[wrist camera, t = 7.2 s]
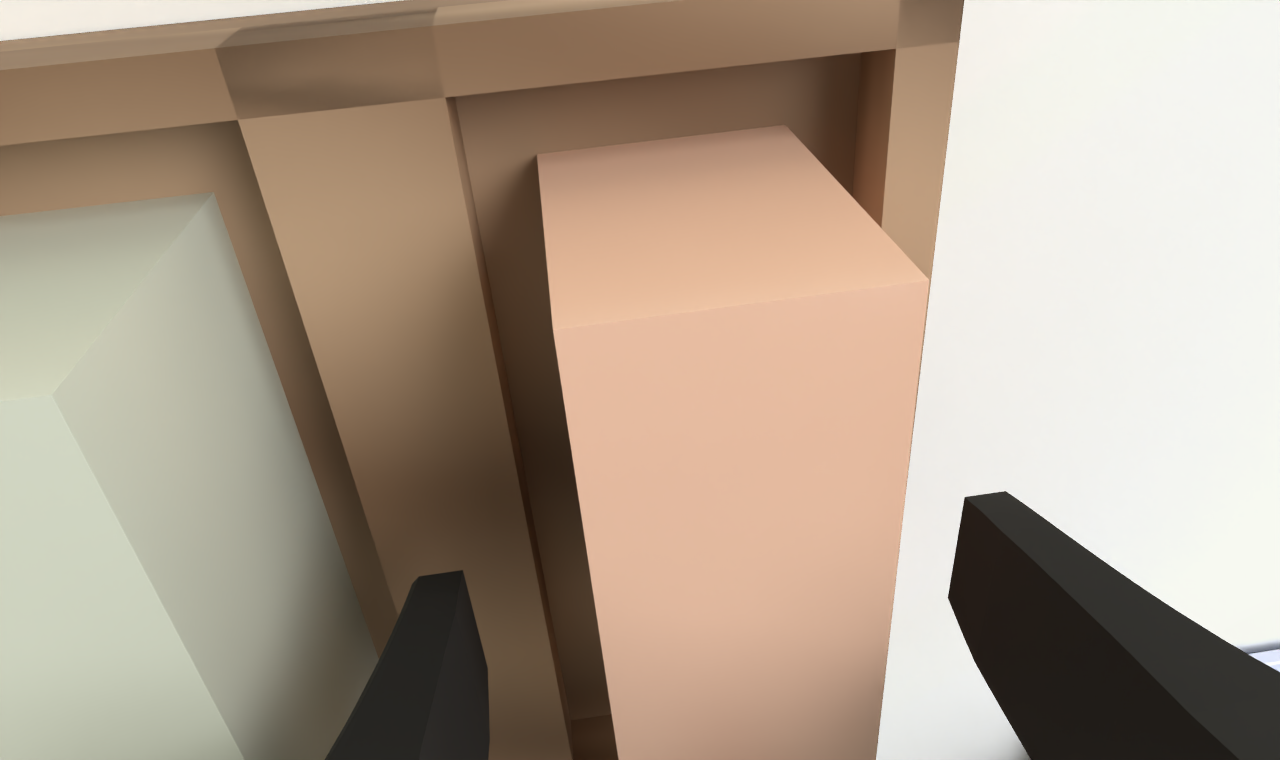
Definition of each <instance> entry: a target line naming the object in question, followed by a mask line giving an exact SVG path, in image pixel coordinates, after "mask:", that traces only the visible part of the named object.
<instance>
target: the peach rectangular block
mask: <svg viewBox="0 0 1280 760" xmlns="http://www.w3.org/2000/svg"><path fill="white" fill-rule="evenodd" d="M537 162H538V173H539V183H540V194H541V205H542V216H543V227H544V238H545V249H546V260H547V270H548V281H549V292H550V303H551V314H552V325H553V333H554V340H555V346H556V353H557V360H558V366H559V373H560V379H561V386H562V392H563V399H564V405H565V412H566V418H567V425H568V431H569V438H570V445H571V451H572V458H573V464H574V471H575V477H576V484H577V490H578V497H579V503H580V510H581V517H582V523H583V530H584V536H585V543H586V549H587V556H588V562H589V569H590V575H591V582H592V589H593V595H594V602H595V608H596V615H597V621H598V628H599V634H600V641H601V647H602V654H603V660H604V667H605V674H606V680H607V687H608V693H609V700H610V706H611V713H612V719H613V726H614V732H615V739H616V745H617V752H618V759H619V760H876V753H877V744H878V735H879V726H880V717H881V708H882V699H883V690H884V682H885V673H886V664H887V655H888V646H889V637H890V628H891V619H892V610H893V601H894V592H895V583H896V574H897V565H898V557H899V548H900V539H901V530H902V521H903V512H904V503H905V494H906V485H907V476H908V467H909V458H910V449H911V441H912V432H913V423H914V414H915V405H916V396H917V387H918V378H919V369H920V360H921V351H922V342H923V333H924V324H925V316H926V307H927V298H928V289H929V279H928V278H927V277H926V276H925V275H924V274H923V273H922V272H921V271H920V269H919V268H918V267H917V266H916V265H915V264H914V263H913V262H912V261H911V260H910V259H909V258H908V257H907V255H906V254H905V253H904V252H903V251H902V250H901V249H900V248H899V247H898V246H897V245H896V244H895V243H894V241H893V240H892V239H891V238H890V237H889V236H888V235H887V234H886V233H885V232H884V231H883V230H882V229H881V227H880V226H879V225H878V224H877V223H876V222H875V221H874V220H873V219H872V218H871V217H870V216H869V214H868V213H867V212H866V211H865V210H864V209H863V208H862V207H861V206H860V205H859V204H858V203H857V202H856V200H855V199H854V198H853V197H852V196H851V195H850V194H849V193H848V192H847V191H846V190H845V189H844V188H843V186H842V185H841V184H840V183H839V182H838V181H837V180H836V179H835V178H834V177H833V176H832V175H831V174H830V172H829V171H828V170H827V169H826V168H825V167H824V166H823V165H822V164H821V163H820V162H819V161H818V160H817V158H816V157H815V156H814V155H813V154H812V153H811V152H810V151H809V150H808V149H807V148H806V147H805V145H804V144H803V143H802V142H801V141H800V140H799V139H798V138H797V137H796V136H795V135H794V134H793V133H792V131H791V130H790V129H789V128H788V127H787V126H786V125H780V126H772V127H763V128H755V129H746V130H738V131H729V132H721V133H713V134H704V135H696V136H687V137H679V138H671V139H662V140H654V141H645V142H637V143H629V144H620V145H612V146H603V147H595V148H586V149H578V150H570V151H561V152H553V153H544V154H537Z"/></svg>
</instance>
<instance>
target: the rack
mask: <svg viewBox="0 0 1280 760" xmlns="http://www.w3.org/2000/svg"><path fill="white" fill-rule="evenodd" d="M963 6H964V0H406V1H396V2H386V3H376V4H366V5H356V6H346V7H336V8H326V9H316V10H306V11H296V12H286V13H276V14H266V15H256V16H246V17H236V18H226V19H217V20H207V21H197V22H187V23H177V24H167V25H157V26H147V27H137V28H127V29H117V30H107V31H97V32H87V33H77V34H67V35H57V36H47V37H38V38H28V39H18V40H8V41H0V216H7V215H16V214H24V213H33V212H42V211H51V210H60V209H68V208H77V207H86V206H95V205H104V204H112V203H121V202H130V201H139V200H148V199H156V198H165V197H174V196H183V195H192V194H200V193H209V192H214V195H215V197H216V200H217V203H218V206H219V209H220V212H221V214H222V217H223V220H224V223H225V226H226V229H227V231H228V234H229V237H230V240H231V243H232V245H233V248H234V251H235V254H236V257H237V260H238V262H239V265H240V268H241V271H242V274H243V277H244V279H245V282H246V285H247V288H248V291H249V294H250V296H251V299H252V302H253V305H254V308H255V310H256V313H257V316H258V319H259V322H260V325H261V327H262V330H263V333H264V336H265V339H266V342H267V344H268V347H269V350H270V353H271V356H272V359H273V361H274V364H275V367H276V370H277V373H278V376H279V378H280V381H281V384H282V387H283V390H284V392H285V395H286V398H287V401H288V404H289V407H290V409H291V412H292V415H293V418H294V421H295V424H296V426H297V429H298V432H299V435H300V438H301V441H302V443H303V446H304V449H305V452H306V455H307V457H308V460H309V463H310V466H311V469H312V472H313V474H314V477H315V480H316V483H317V486H318V489H319V491H320V494H321V497H322V500H323V503H324V506H325V508H326V511H327V514H328V517H329V520H330V522H331V525H332V528H333V531H334V534H335V537H336V539H337V542H338V545H339V548H340V551H341V554H342V556H343V559H344V562H345V565H346V568H347V571H348V573H349V576H350V579H351V582H352V585H353V587H354V590H355V593H356V596H357V599H358V602H359V604H360V607H361V610H362V613H363V616H364V619H365V621H366V624H367V627H368V630H369V633H370V636H371V638H372V641H373V644H374V647H375V650H376V652H377V655H378V658H379V659H380V656H381V654H382V652H383V650H384V648H385V646H386V644H387V642H388V640H389V637H390V635H391V633H392V631H393V629H394V626H395V624H396V622H397V620H398V617H399V615H400V613H401V610H402V608H403V606H404V603H405V601H406V598H407V596H408V593H409V591H410V588H411V586H412V583H413V582H414V581H415V580H416V579H417V578H418V577H419V576H425V575H432V574H439V573H446V572H453V571H460V570H463V572H464V576H465V580H466V584H467V588H468V592H469V596H470V600H471V604H472V608H473V612H474V616H475V620H476V624H477V628H478V631H479V635H480V639H481V643H482V647H483V651H484V655H485V659H486V663H487V667H488V689H489V726H490V743H489V757H488V760H619V759H618V752H617V745H616V739H615V732H614V726H613V719H612V713H611V706H610V700H609V693H608V687H607V680H606V674H605V667H604V660H603V654H602V647H601V641H600V634H599V628H598V621H597V615H596V608H595V602H594V595H593V589H592V582H591V575H590V569H589V562H588V556H587V549H586V543H585V536H584V530H583V523H582V517H581V510H580V503H579V497H578V490H577V484H576V477H575V471H574V464H573V458H572V451H571V445H570V438H569V431H568V425H567V418H566V412H565V405H564V399H563V392H562V386H561V379H560V373H559V366H558V360H557V353H556V346H555V340H554V333H553V325H552V314H551V303H550V292H549V281H548V270H547V260H546V249H545V238H544V227H543V216H542V205H541V194H540V183H539V173H538V162H537V154H544V153H553V152H561V151H570V150H578V149H586V148H595V147H603V146H612V145H620V144H629V143H637V142H645V141H654V140H662V139H671V138H679V137H687V136H696V135H704V134H713V133H721V132H729V131H738V130H746V129H755V128H763V127H772V126H780V125H786V126H787V127H788V128H789V129H790V130H791V131H792V133H793V134H794V135H795V136H796V137H797V138H798V139H799V140H800V141H801V142H802V143H803V144H804V145H805V147H806V148H807V149H808V150H809V151H810V152H811V153H812V154H813V155H814V156H815V157H816V158H817V160H818V161H819V162H820V163H821V164H822V165H823V166H824V167H825V168H826V169H827V170H828V171H829V172H830V174H831V175H832V176H833V177H834V178H835V179H836V180H837V181H838V182H839V183H840V184H841V185H842V186H843V188H844V189H845V190H846V191H847V192H848V193H849V194H850V195H851V196H852V197H853V198H854V199H855V200H856V202H857V203H858V204H859V205H860V206H861V207H862V208H863V209H864V210H865V211H866V212H867V213H868V214H869V216H870V217H871V218H872V219H873V220H874V221H875V222H876V223H877V224H878V225H879V226H880V227H881V229H882V230H883V231H884V232H885V233H886V234H887V235H888V236H889V237H890V238H891V239H892V240H893V241H894V243H895V244H896V245H897V246H898V247H899V248H900V249H901V250H902V251H903V252H904V253H905V254H906V255H907V257H908V258H909V259H910V260H911V261H912V262H913V263H914V264H915V265H916V266H917V267H918V268H919V269H920V271H921V272H922V273H923V274H924V275H925V276H926V277H927V278H928V279H929V289H928V298H927V307H926V316H925V324H924V333H923V342H922V351H923V343H924V334H925V326H926V318H927V309H928V301H929V292H930V284H931V275H932V267H933V259H934V250H935V242H936V233H937V225H938V216H939V208H940V200H941V191H942V183H943V174H944V166H945V158H946V149H947V141H948V132H949V124H950V115H951V107H952V99H953V90H954V82H955V73H956V65H957V56H958V48H959V40H960V31H961V23H962V14H963ZM922 351H921V360H922ZM921 360H920V368H921ZM919 376H920V369H919ZM918 385H919V378H918ZM917 393H918V387H917ZM916 402H917V396H916ZM915 410H916V405H915ZM914 419H915V414H914ZM913 427H914V423H913ZM912 435H913V432H912ZM911 444H912V441H911ZM910 452H911V449H910ZM909 461H910V458H909ZM908 469H909V467H908ZM907 478H908V476H907ZM906 486H907V485H906Z"/></svg>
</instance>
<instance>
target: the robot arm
mask: <svg viewBox="0 0 1280 760" xmlns="http://www.w3.org/2000/svg"><path fill="white" fill-rule="evenodd" d="M948 599H949V601H950V604H951V606H952V609H953V611H954V614H955V616H956V619H957V621H958V624H959V626H960V629H961V631H962V633H963V636H964V638H965V640H966V643H967V645H968V647H969V649H970V652H971V654H972V656H973V659H974V661H975V663H976V665H977V667H978V668H979V670H980V672H981V674H982V676H983V677H984V679H985V681H986V683H987V684H988V686H989V688H990V690H991V691H992V693H993V695H994V697H995V698H996V700H997V702H998V704H999V705H1000V707H1001V709H1002V711H1003V712H1004V714H1005V716H1006V717H1007V719H1008V721H1009V723H1010V724H1011V726H1012V728H1013V729H1014V731H1015V733H1016V735H1017V736H1018V738H1019V740H1020V741H1021V743H1022V745H1023V747H1024V748H1025V750H1026V752H1027V753H1028V755H1029V757H1030V759H1031V760H1280V649H1277V650H1271V651H1264V652H1258V653H1252V654H1247V653H1245V652H1243V651H1242V650H1240V649H1238V648H1236V647H1235V646H1233V645H1231V644H1230V643H1228V642H1226V641H1224V640H1223V639H1221V638H1220V637H1218V636H1216V635H1215V634H1213V633H1211V632H1210V631H1208V630H1207V629H1205V628H1203V627H1202V626H1200V625H1199V624H1197V623H1195V622H1194V621H1192V620H1191V619H1189V618H1187V617H1186V616H1184V615H1183V614H1181V613H1179V612H1178V611H1176V610H1175V609H1173V608H1172V607H1170V606H1169V605H1167V604H1166V603H1164V602H1162V601H1161V600H1159V599H1158V598H1156V597H1155V596H1153V595H1152V594H1150V593H1149V592H1147V591H1146V590H1144V589H1143V588H1141V587H1140V586H1138V585H1137V584H1136V583H1134V582H1133V581H1131V580H1130V579H1128V578H1127V577H1125V576H1124V575H1122V574H1121V573H1120V572H1118V571H1117V570H1115V569H1114V568H1112V567H1111V566H1109V565H1108V564H1107V563H1105V562H1104V561H1102V560H1101V559H1100V558H1098V557H1097V556H1095V555H1094V554H1093V553H1091V552H1090V551H1088V550H1087V549H1086V548H1084V547H1083V546H1081V545H1080V544H1079V543H1077V542H1076V541H1074V540H1073V539H1072V538H1070V537H1069V536H1067V535H1066V534H1065V533H1063V532H1062V531H1061V530H1059V529H1058V528H1056V527H1055V526H1054V525H1052V524H1051V523H1050V522H1048V521H1047V520H1045V519H1044V518H1043V517H1041V516H1040V515H1039V514H1037V513H1036V512H1034V511H1033V510H1032V509H1030V508H1029V507H1027V506H1026V505H1025V504H1023V503H1022V502H1020V501H1019V500H1018V499H1016V498H1015V497H1013V496H1012V495H1010V494H1009V493H1007V492H1006V491H1004V492H998V493H991V494H984V495H977V496H970V497H965V499H964V505H963V511H962V517H961V523H960V529H959V535H958V541H957V547H956V553H955V559H954V565H953V571H952V577H951V583H950V589H949V595H948ZM489 743H490V726H489V689H488V667H487V663H486V659H485V655H484V651H483V647H482V643H481V639H480V635H479V631H478V628H477V624H476V620H475V616H474V612H473V608H472V604H471V600H470V596H469V592H468V588H467V584H466V580H465V576H464V572H463V570H460V571H453V572H446V573H439V574H432V575H425V576H419V577H418V578H417V579H416V580H415V581H414V582H413V583H412V586H411V588H410V591H409V593H408V596H407V598H406V601H405V603H404V606H403V608H402V610H401V613H400V615H399V617H398V620H397V622H396V624H395V626H394V629H393V631H392V633H391V635H390V637H389V640H388V642H387V644H386V646H385V648H384V650H383V652H382V654H381V656H380V659H379V661H378V663H377V665H376V667H375V669H374V671H373V672H372V674H371V676H370V678H369V680H368V682H367V684H366V686H365V688H364V690H363V692H362V694H361V696H360V698H359V700H358V702H357V703H356V705H355V707H354V709H353V711H352V713H351V715H350V717H349V718H348V720H347V722H346V724H345V726H344V727H343V729H342V731H341V732H340V734H339V736H338V738H337V739H336V741H335V743H334V744H333V746H332V748H331V750H330V751H329V753H328V755H327V756H326V758H325V760H488V757H489Z"/></svg>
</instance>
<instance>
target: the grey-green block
mask: <svg viewBox="0 0 1280 760" xmlns="http://www.w3.org/2000/svg"><path fill="white" fill-rule="evenodd" d="M378 661H379V658H378V655H377V652H376V650H375V647H374V644H373V641H372V638H371V636H370V633H369V630H368V627H367V624H366V621H365V619H364V616H363V613H362V610H361V607H360V604H359V602H358V599H357V596H356V593H355V590H354V587H353V585H352V582H351V579H350V576H349V573H348V571H347V568H346V565H345V562H344V559H343V556H342V554H341V551H340V548H339V545H338V542H337V539H336V537H335V534H334V531H333V528H332V525H331V522H330V520H329V517H328V514H327V511H326V508H325V506H324V503H323V500H322V497H321V494H320V491H319V489H318V486H317V483H316V480H315V477H314V474H313V472H312V469H311V466H310V463H309V460H308V457H307V455H306V452H305V449H304V446H303V443H302V441H301V438H300V435H299V432H298V429H297V426H296V424H295V421H294V418H293V415H292V412H291V409H290V407H289V404H288V401H287V398H286V395H285V392H284V390H283V387H282V384H281V381H280V378H279V376H278V373H277V370H276V367H275V364H274V361H273V359H272V356H271V353H270V350H269V347H268V344H267V342H266V339H265V336H264V333H263V330H262V327H261V325H260V322H259V319H258V316H257V313H256V310H255V308H254V305H253V302H252V299H251V296H250V294H249V291H248V288H247V285H246V282H245V279H244V277H243V274H242V271H241V268H240V265H239V262H238V260H237V257H236V254H235V251H234V248H233V245H232V243H231V240H230V237H229V234H228V231H227V229H226V226H225V223H224V220H223V217H222V214H221V212H220V209H219V206H218V203H217V200H216V197H215V195H214V192H209V193H200V194H192V195H183V196H174V197H165V198H156V199H148V200H139V201H130V202H121V203H112V204H104V205H95V206H86V207H77V208H68V209H60V210H51V211H42V212H33V213H24V214H16V215H7V216H0V760H325V758H326V756H327V755H328V753H329V751H330V750H331V748H332V746H333V744H334V743H335V741H336V739H337V738H338V736H339V734H340V732H341V731H342V729H343V727H344V726H345V724H346V722H347V720H348V718H349V717H350V715H351V713H352V711H353V709H354V707H355V705H356V703H357V702H358V700H359V698H360V696H361V694H362V692H363V690H364V688H365V686H366V684H367V682H368V680H369V678H370V676H371V674H372V672H373V671H374V669H375V667H376V665H377V663H378Z"/></svg>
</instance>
